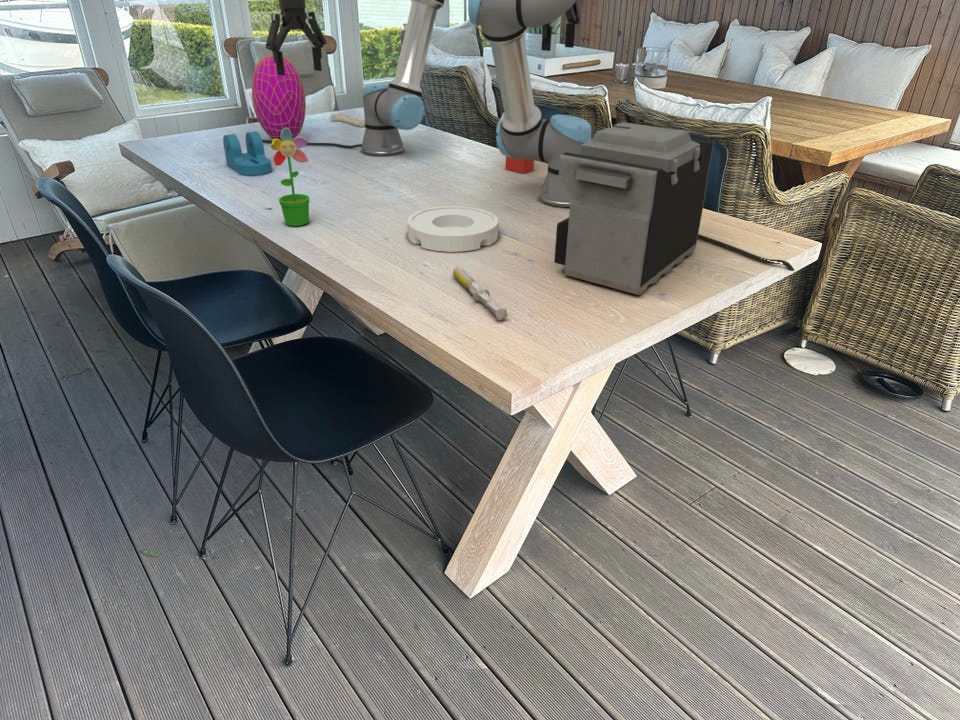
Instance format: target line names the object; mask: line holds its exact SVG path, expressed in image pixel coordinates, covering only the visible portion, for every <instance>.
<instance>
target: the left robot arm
mask: <svg viewBox="0 0 960 720" xmlns="http://www.w3.org/2000/svg"><path fill="white" fill-rule="evenodd" d="M410 1H411V5H410V9H409V14H408V18H407V22H406V27H405V31H404V36H403V41H402V45H401V49H400V54H399V57H398V63H397V66H396V71H395V75H394V78H393V79H392V80H390V81H389V82H388V83H378V84H368V85H365V86H363V88H362V102H363V115H364V116H363V117H364V120H365V126H364V127H365V130H364V134H363V137H362V143H359V144H353V145H352V144H351V145H347V144H341V143H335V142H309V143H307V144H306V145H305V146H331V147H338V148H344V149H355V148H361V152H362V153H363V154H366V155H368V156H377V157H378V156H379V157H384V156H393V155H399V154H401V153H403V152H404V151H405V148H404V147H405V146H404V143H403V140H402V137H401V134H400V131H399V130H404V131H409V130H413V129H415V128H416V127H418V126H419V125H420V124H421V122H422V121H423V119H424V116H425V111H426V110H425V105H424V101H423V100H422V97H423V90H422V88H421V82H422V78H423V74H424V68H425V66H426V65H425V64H426V60H427V57H428V52H429V48H430V44H431V39H432V35H433V31H434V27H435V22H436V18H437V15H438V11H439V10H440V9H442V8H443V7H444V5H445V0H410ZM306 7H307V5H306V0H278V8H279V10H280V13H275V12H272V13H271V14H270V16H271V17H270V20H271V22H270V27H269V31H268V34H267V39H266V43H265V49H266V50H269V51H271V52H272V55H273V59H274V63H276V67H277V75H282V76H285V71H284V63H283V57H284V55H283V51H280V50H281V48H282V46H283V44H284V42H285V40H286V38H287V36H288V35H289V33H290V32H291V31H295V30H301V31H302V32H303V34H304V35H305V36H306V38H307V39H308V40H309V42H310V43H311V44H312V45H313V46H312V47H311V51H312V52H311V53H312V61H313V70H314V71H318V72H322V71H323V70H322V60H321V59H323V54H322V52H323V51H322V48H324V46H325V45H327V40H326V38H325V36H324V33H323V32H322V30H321V28H320V25H319V23H318V21H317V19H316V14H315V11H311V10H310V11H309V10H308V11H306ZM306 20H307V22H306ZM281 22H282V23H281ZM262 141H263V143H265V144H266V143H267V144H272V141H273V140H269V139H268V140H267V139H262Z"/></svg>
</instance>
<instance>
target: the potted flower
mask: <svg viewBox="0 0 960 720" xmlns="http://www.w3.org/2000/svg"><path fill="white" fill-rule="evenodd" d="M280 136H281V140H282V141H281V140H279V139H273V138H272V140H271V141H272V143H270V144H271V145H270V148H271V149H272V150H274V151H275V153H274V155H273V163H274V165H275V167H277V166H282V164H283V163H285V161H286V158H287V164H288V165H287V166H288V171H289V178H284V179H282V180H281V181H280V184H281V185H282V186H285V187H291V193H290V194H286V195H282V196H280V197H279V198H278V202H279V205H280V207H281V210H282V215H283V219H284V223H285V225H287V226H290V227H291V226H292V227H301V226H304V225H306V224H309V222H310V206H309V205H310V196H309V195H307V194H303V193H296V192H295V191H296V190H295V184H294V178H296V177H297V176H299V174H300V173H299V171H297V170H295V171H293V168H292V162H291V161H292V160H291V159H293V160H294V161H296V162H297V163H307V162H309V158H308V156H307V155H306V153H305V152H303V150H301V148H303V147H305V146H307V145H306V144H307V143H310V140H308V139H307V138H306V137H303V136H299V135H298V136H296V137H295V138H293V139H292V134H291V131H290V130H289V129H288V128H284V129H283V130H282V131H281V134H280Z"/></svg>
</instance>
